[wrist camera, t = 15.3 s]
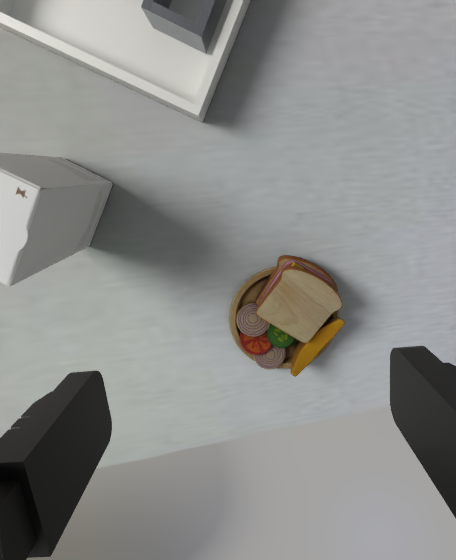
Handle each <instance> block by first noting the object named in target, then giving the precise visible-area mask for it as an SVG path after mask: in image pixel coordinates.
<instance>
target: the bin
mask: <svg viewBox="0 0 456 560" xmlns="http://www.w3.org/2000/svg"><path fill="white" fill-rule="evenodd" d="M204 1H205V0H172V1H171V4H170V7H169V10H171V11H173V12H175V13H177V14H179V15H181V16H184V17H186V18H188V19H190V20H192V21H194V22H196V23H197V20H198V17H199V15H200V12H201V9H202V7H203V4H204ZM250 2H251V0H227V1H226V4H225V6H224V9H223V12H222V14H221V17H220V19H219V22H218V25H217V27H216V30H215V32H214V35H213V38H212V40H211V43H210V45H209V48H208V51H207V53H206V54H205V53H203V52H201V51H199V50H197V49H195V48H193V47H191V46H189V45H187V44H185V43H183V42H181V41H178V40H176V39H174V38H172V37H170V36H168V35H166V34H164V33H162V32H160V31H158V30H156V29H154V28H153V27H152V25H151V24H150V22H149V20H148V18H147V17H146V15H145V13H144V11H143V10H142V8H141V6H142V3H143V0H0V27H2V28H3V29H5V30H7V31H9V32H11V33H13V34H16V35H18V36H20V37H22V38H24V39H26V40H28V41H30V42H33V43H35V44H37V45H39V46H41V47H43V48H45V49H47V50H49V51H52V52H54V53H56V54H58V55H60V56H62V57H64V58H66V59H69V60H71V61H73V62H75V63H77V64H79V65H81V66H83V67H86V68H88V69H90V70H92V71H94V72H96V73H98V74H100V75H103V76H105V77H107V78H109V79H111V80H113V81H115V82H117V83H120V84H122V85H124V86H126V87H128V88H130V89H132V90H134V91H137V92H139V93H141V94H143V95H145V96H147V97H149V98H151V99H154V100H156V101H158V102H160V103H162V104H164V105H166V106H168V107H170V108H173V109H175V110H177V111H179V112H181V113H183V114H185V115H187V116H190V117H192V118H194V119H196V120H198V121H200V122H202V123H203V120H204V118H205V115H206V113H207V110H208V108H209V105H210V103H211V100H212V98H213V95H214V93H215V90H216V88H217V85H218V83H219V80H220V78H221V75H222V73H223V70H224V67H225V65H226V62H227V60H228V57H229V55H230V52H231V50H232V47H233V45H234V42H235V40H236V37H237V35H238V32H239V30H240V27H241V25H242V22H243V20H244V17H245V14H246V12H247V9H248V7H249V4H250Z"/></svg>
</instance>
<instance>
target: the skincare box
mask: <svg viewBox="0 0 456 560" xmlns="http://www.w3.org/2000/svg"><path fill="white" fill-rule="evenodd" d="M112 185H113V184H112V182H110V181H108V180H106V179H104V178H103V177H101V176H99V175H97V174H95V173H93V172H90V171H88V170H86V169H84V168H82V167H80V166H78V165H76V164H74V163H72V162H70V161H68V160H66V159H64V158H62V157H49V156H35V155H21V154H8V153H0V283H3V284H5V285H7V286H12V285H14V284H16V283H18V282H19V281H21V280H23V279H25V278H27V277H29V276H31V275H33V274H35V273H37V272H39V271H41V270H43V269H45V268H47V267H49V266H51V265H53V264H55V263H57V262H59V261H61V260H63V259H65V258H67V257H69V256H71V255H73V254H75V253H77V252H79V251H81V250H83V249H85V248H87V247H89V245H90V243H91V240H92V238H93V235H94V233H95V230H96V228H97V225H98V222H99V220H100V217H101V215H102V212H103V209H104V207H105V204H106V202H107V199H108V196H109V194H110V191H111V188H112Z"/></svg>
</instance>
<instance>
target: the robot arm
mask: <svg viewBox="0 0 456 560" xmlns="http://www.w3.org/2000/svg"><path fill="white" fill-rule="evenodd" d="M390 406H391V411H392V415H393V418H394V421H395V423H396V425H397V427H398V428H399V430H400V431H401V433H402V435H403V436H404V438H405V439H406V441H407V442H408V444H409V446H410V447H411V449H412V450H413V452H414V453H415V455H416V457H417V458H418V460H419V461H420V463H421V464H422V466H423V468H424V469H425V471H426V472H427V474H428V475H429V477H430V478H431V480H432V482H433V483H434V485H435V486H436V488H437V489H438V491H439V492H440V494H441V496H442V497H443V498H444V500H445V502H446V504H447V505H448V507H449V508H450V510H451V511H452V513H453V514H454V516H455V518H456V366H454V365H452V364H450V363H443V362H441V361H440V360H439V359H438V358H437V357H436V356H435V355H434V354H433V353H431V352H430V351H429V350H428V349H427V348H426V347H424V346H414V347H401V348H393V349H392V351H391V355H390ZM111 431H112V421H111V415H110V410H109V406H108V401H107V396H106V391H105V387H104V382H103V378H102V375H101V373H100V372H99V371H87V372H74V373H70V374H68V375H67V376H66V377H65V379H64V380H63V381H62V382H61V383H60V384H59V385H58V386H57V387H56V388H55V390H54V391H53V392H50V393H48V394H47V395H45V396H44V397H42V398H41V399H39V400H38V401H36V402H35V403H33V404H32V405H31V406H30V407H29V409H28V410H27V411H26V412H25V413H24V414H23V415H22V416H21V419H18V420H17V421H16V422H15V423H14V424H13V425H12V426H11V430H8V431H7V432H6V433H5V434H4V435H3V436H2V437H1V438H0V560H26V559H27V558H28V557H29V558H30V557H50V556H51V555H52V553H53V551H54V549H55V547H56V545H57V543H58V541H59V539H60V537H61V535H62V533H63V531H64V529H65V527H66V525H67V523H68V521H69V519H70V518H71V516H72V514H73V512H74V510H75V508H76V506H77V504H78V502H79V500H80V498H81V496H82V494H83V492H84V490H85V488H86V486H87V485H88V483H89V480H90V478H91V477H92V475H93V473H94V471H95V469H96V467H97V465H98V463H99V461H100V459H101V457H102V455H103V453H104V451H105V449H106V448H107V446H108V443H109V441H110V437H111Z"/></svg>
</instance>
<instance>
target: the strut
mask: <svg viewBox="0 0 456 560" xmlns="http://www.w3.org/2000/svg"><path fill="white" fill-rule="evenodd" d="M171 1H172V0H143V3H142V6H141V8H142V10H143V11H144V13H145V15H146V17H147V18H148V20H149V22H150V24H151V25H152V27H153V28H154V29H156V30H158V31H160V32H162V33H164V34H166V35H168V36H170V37H172V38H174V39H176V40H178V41H181V42H183V43H185V44H187V45H189V46H191V47H193V48H195V49H197V50H199V51H201V52H203V53H205V54H206V53H207V51H208V48H209V45H210V43H211V40H212V38H213V35H214V32H215V30H216V27H217V25H218V22H219V19H220V17H221V14H222V12H223V9H224V6H225V4H226V1H227V0H205V1H204V4H203V7H202V9H201V12H200V15H199V17H198V20H197V23H196V22H194V21H192V20H190V19H188V18H186V17H184V16H181V15H179V14H177V13H175V12H173V11H171V10H169V7H170V4H171Z"/></svg>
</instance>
